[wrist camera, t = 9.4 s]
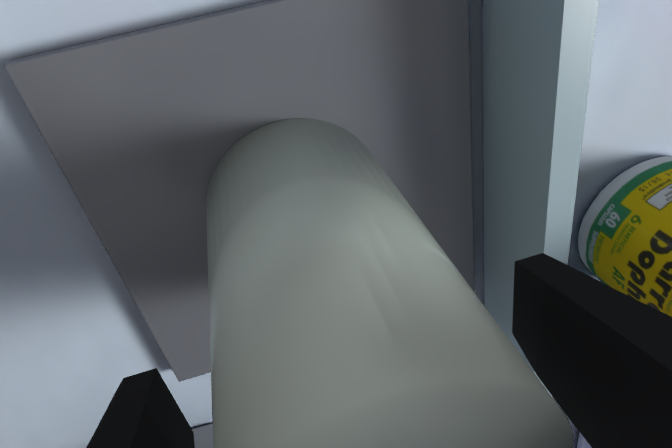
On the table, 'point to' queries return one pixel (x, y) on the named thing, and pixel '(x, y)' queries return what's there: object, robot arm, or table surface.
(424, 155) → the coaster
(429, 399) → the pale tapered cylinder
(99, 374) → the table surface
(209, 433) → the coffee box
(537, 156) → the tray
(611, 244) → the supplement bottle
